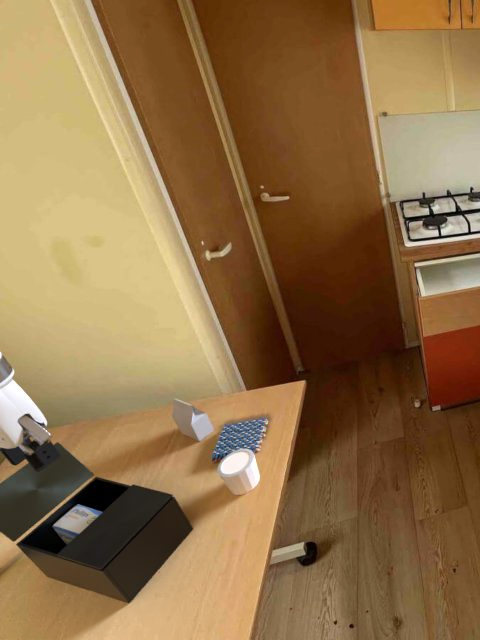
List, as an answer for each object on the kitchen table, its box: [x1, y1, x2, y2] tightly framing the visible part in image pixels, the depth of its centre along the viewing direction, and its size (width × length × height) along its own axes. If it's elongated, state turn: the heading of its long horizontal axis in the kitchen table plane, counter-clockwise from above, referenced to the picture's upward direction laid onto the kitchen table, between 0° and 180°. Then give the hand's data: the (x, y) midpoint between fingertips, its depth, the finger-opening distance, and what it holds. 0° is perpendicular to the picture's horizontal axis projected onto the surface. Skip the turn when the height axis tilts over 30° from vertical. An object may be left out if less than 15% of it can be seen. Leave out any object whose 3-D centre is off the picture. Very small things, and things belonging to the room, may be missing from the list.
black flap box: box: [15, 476, 194, 604], centre depth 78 cm, size 19×13×11 cm
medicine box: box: [52, 504, 102, 545], centre depth 79 cm, size 8×4×9 cm, turn 77°
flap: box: [0, 441, 95, 543], centre depth 75 cm, size 9×13×1 cm
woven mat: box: [210, 416, 269, 463], centre depth 102 cm, size 10×11×2 cm
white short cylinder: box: [216, 449, 261, 496], centre depth 91 cm, size 7×7×7 cm
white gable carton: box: [171, 397, 215, 442], centre depth 102 cm, size 4×7×10 cm, turn 69°
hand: (36, 459), depth 69 cm, fingers open, 4 cm apart
